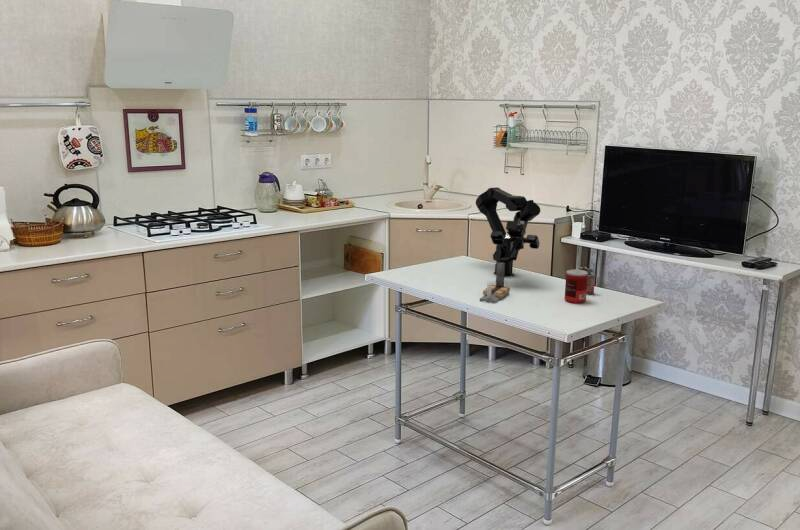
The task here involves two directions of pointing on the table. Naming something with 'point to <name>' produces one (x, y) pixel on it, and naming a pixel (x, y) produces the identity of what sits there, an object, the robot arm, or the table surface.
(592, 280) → the lighter
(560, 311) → the table surface
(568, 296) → the canned food
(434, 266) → the table surface
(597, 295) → the table surface
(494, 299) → the rail
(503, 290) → the wooden base with post
